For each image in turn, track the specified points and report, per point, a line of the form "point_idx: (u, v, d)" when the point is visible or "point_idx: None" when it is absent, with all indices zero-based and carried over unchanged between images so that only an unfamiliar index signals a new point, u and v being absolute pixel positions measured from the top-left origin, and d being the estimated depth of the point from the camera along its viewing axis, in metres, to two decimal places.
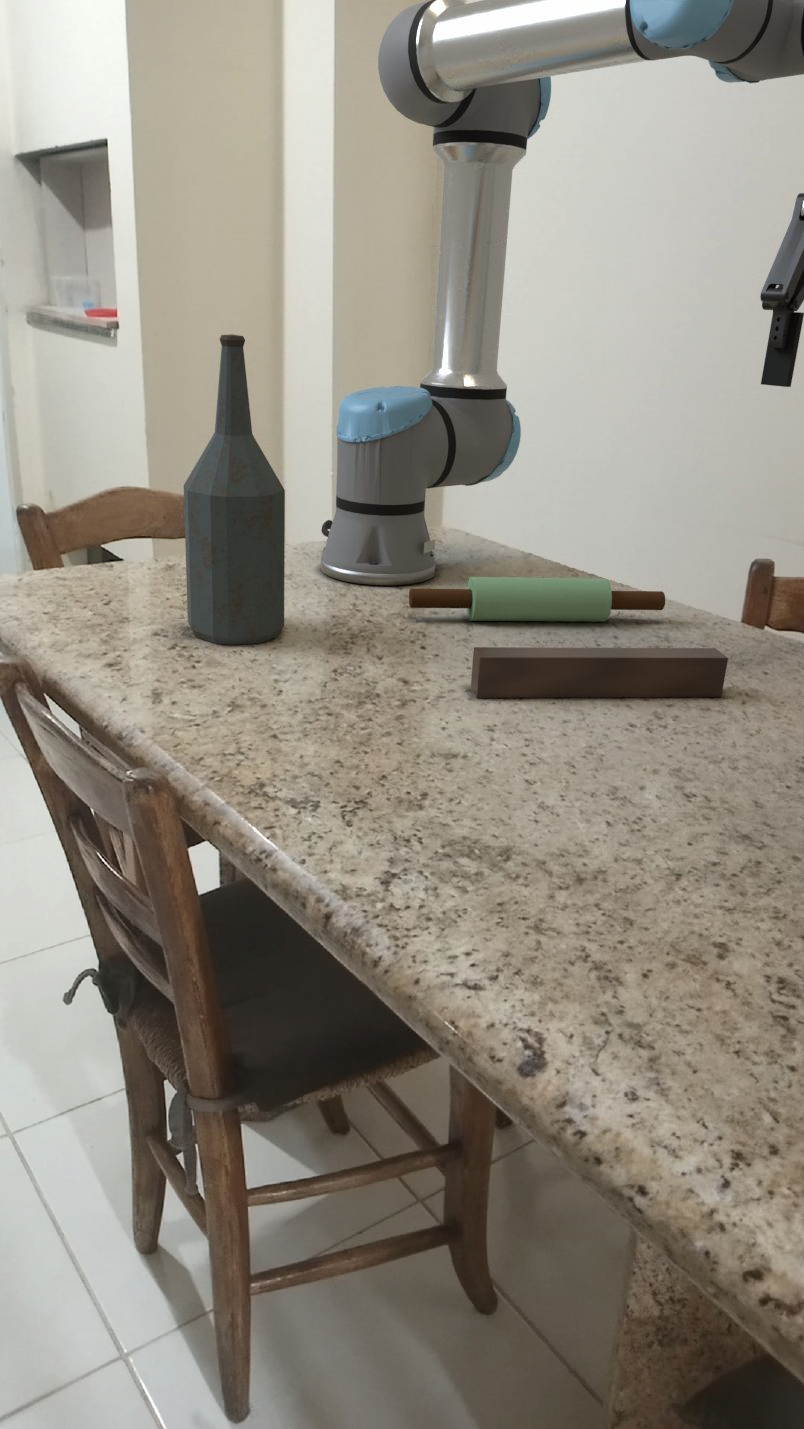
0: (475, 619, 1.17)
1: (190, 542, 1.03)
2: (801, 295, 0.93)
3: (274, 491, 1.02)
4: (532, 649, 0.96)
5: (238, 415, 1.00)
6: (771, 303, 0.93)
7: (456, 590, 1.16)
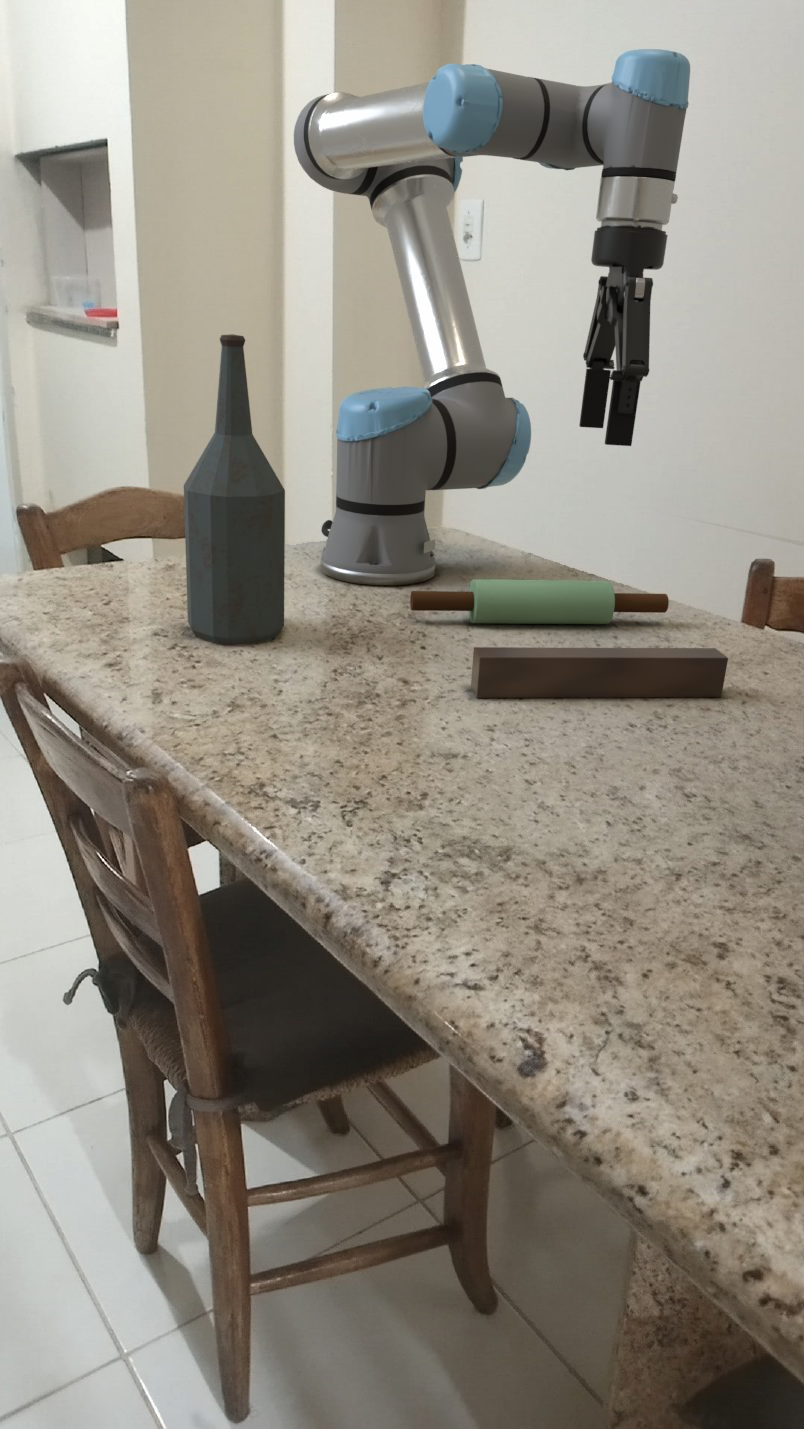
0: None
1: (190, 542, 1.03)
2: None
3: (274, 491, 1.02)
4: (532, 649, 0.96)
5: (238, 415, 1.00)
6: (630, 376, 1.03)
7: (458, 595, 1.15)
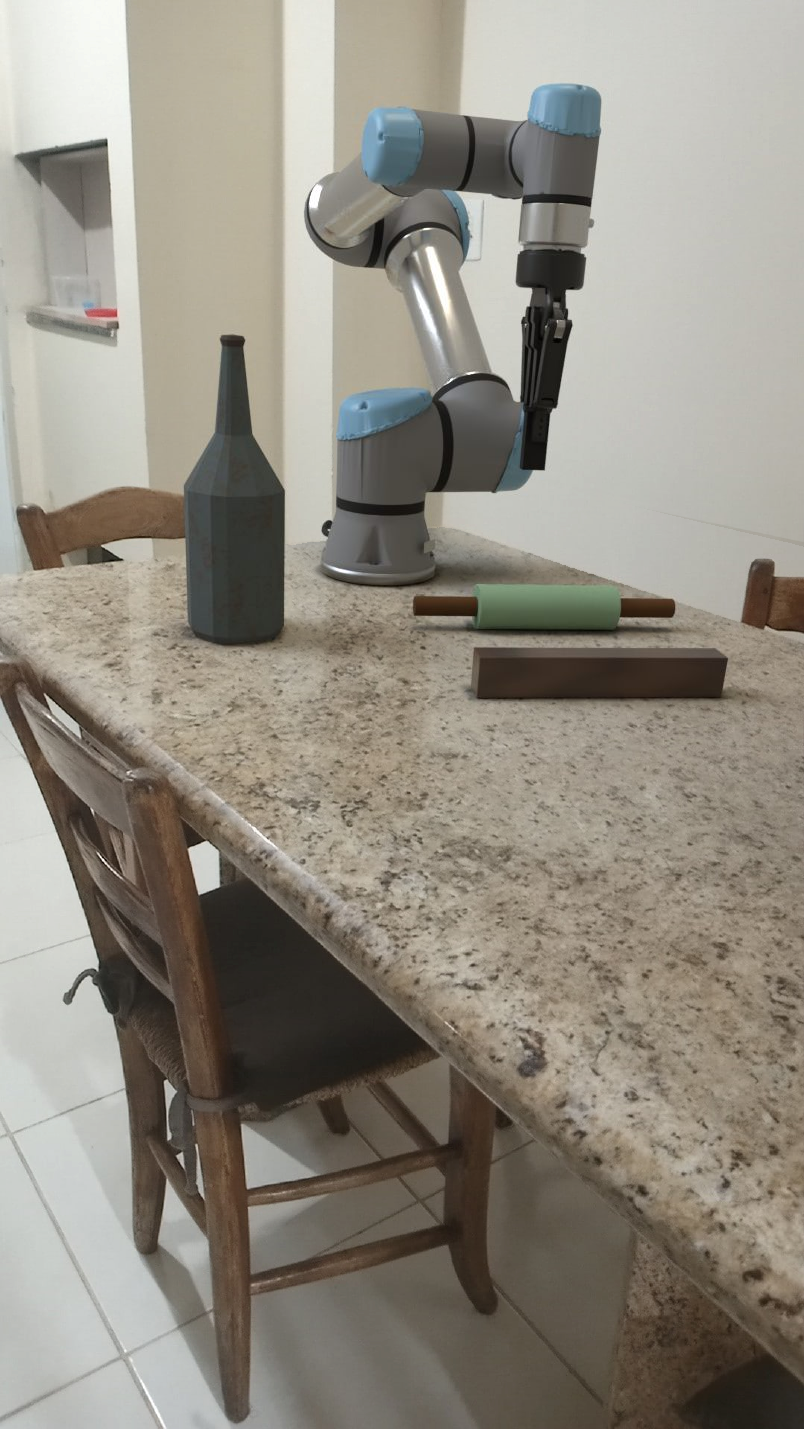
0: None
1: (190, 542, 1.03)
2: None
3: (274, 491, 1.02)
4: (532, 649, 0.96)
5: (238, 415, 1.00)
6: (541, 409, 1.15)
7: (462, 608, 1.13)
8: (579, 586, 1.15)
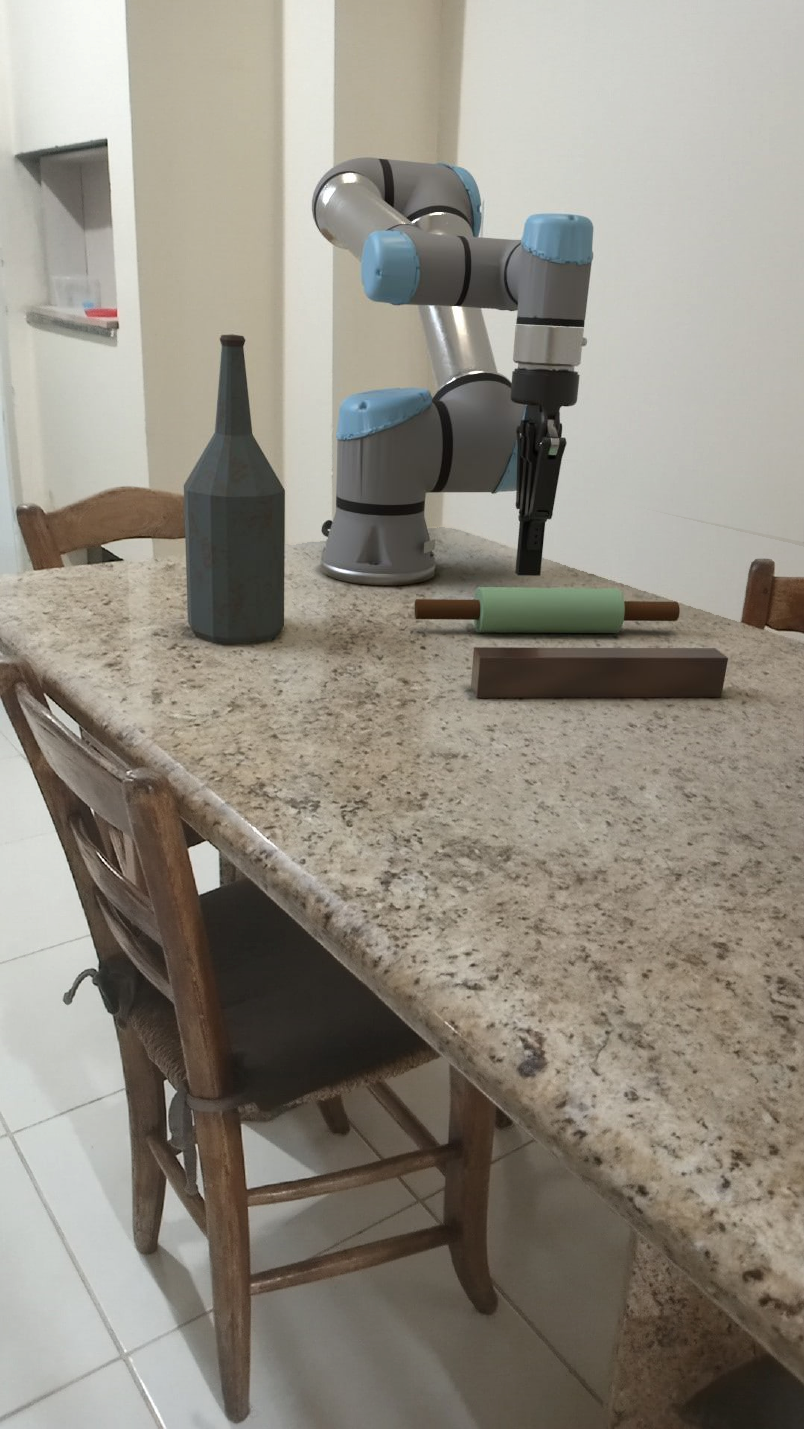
0: None
1: (190, 542, 1.03)
2: None
3: (274, 491, 1.02)
4: (532, 649, 0.96)
5: (238, 415, 1.00)
6: (536, 519, 1.18)
7: (463, 616, 1.12)
8: (585, 595, 1.13)
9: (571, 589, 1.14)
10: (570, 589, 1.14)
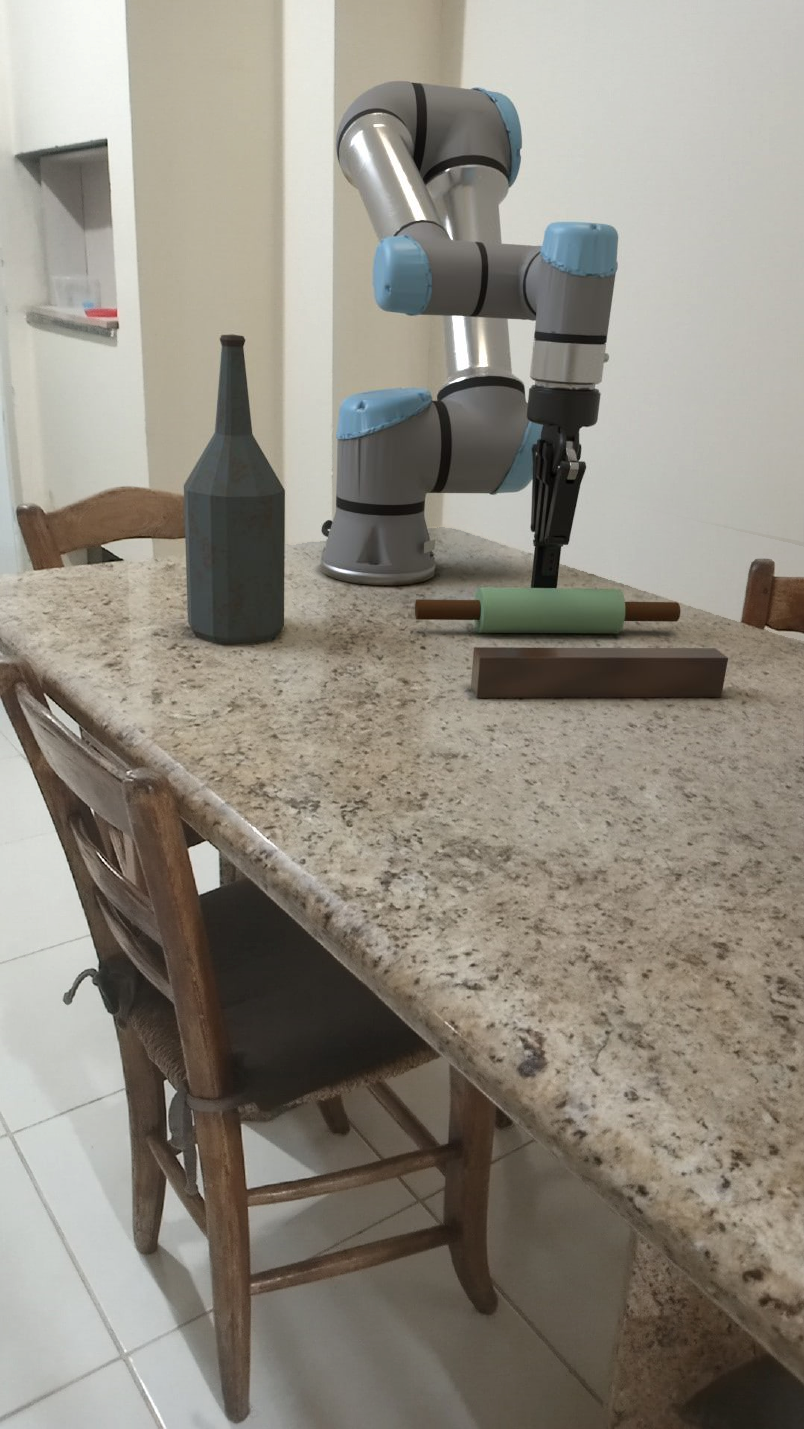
0: None
1: (190, 542, 1.03)
2: None
3: (274, 491, 1.02)
4: (532, 649, 0.96)
5: (238, 415, 1.00)
6: (552, 545, 1.12)
7: (464, 616, 1.12)
8: (585, 594, 1.13)
9: (571, 589, 1.14)
10: (570, 589, 1.14)
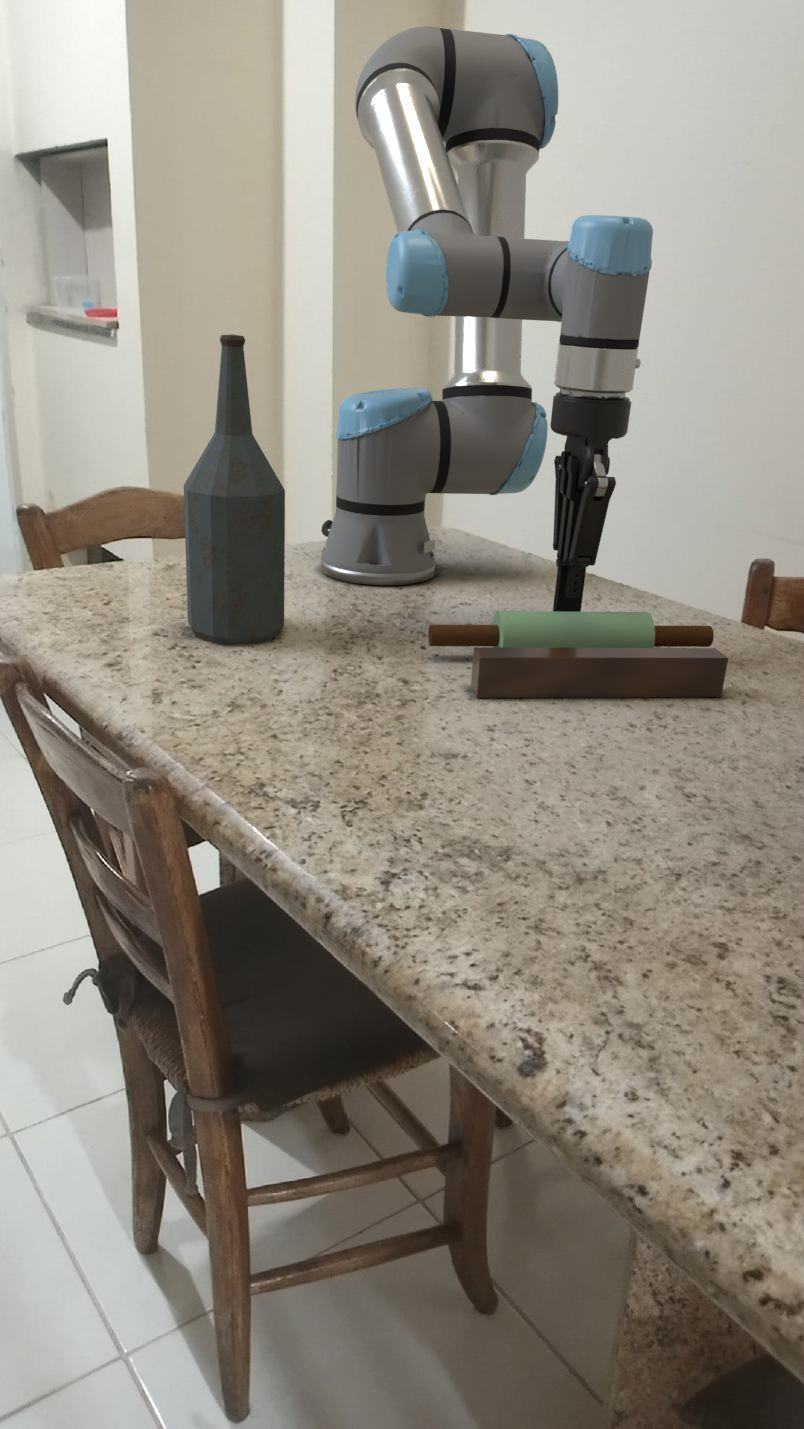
0: (501, 611, 1.05)
1: (190, 542, 1.03)
2: None
3: (274, 491, 1.02)
4: (532, 649, 0.96)
5: (238, 415, 1.00)
6: (577, 565, 1.03)
7: None
8: None
9: (601, 647, 1.04)
10: (599, 647, 1.04)
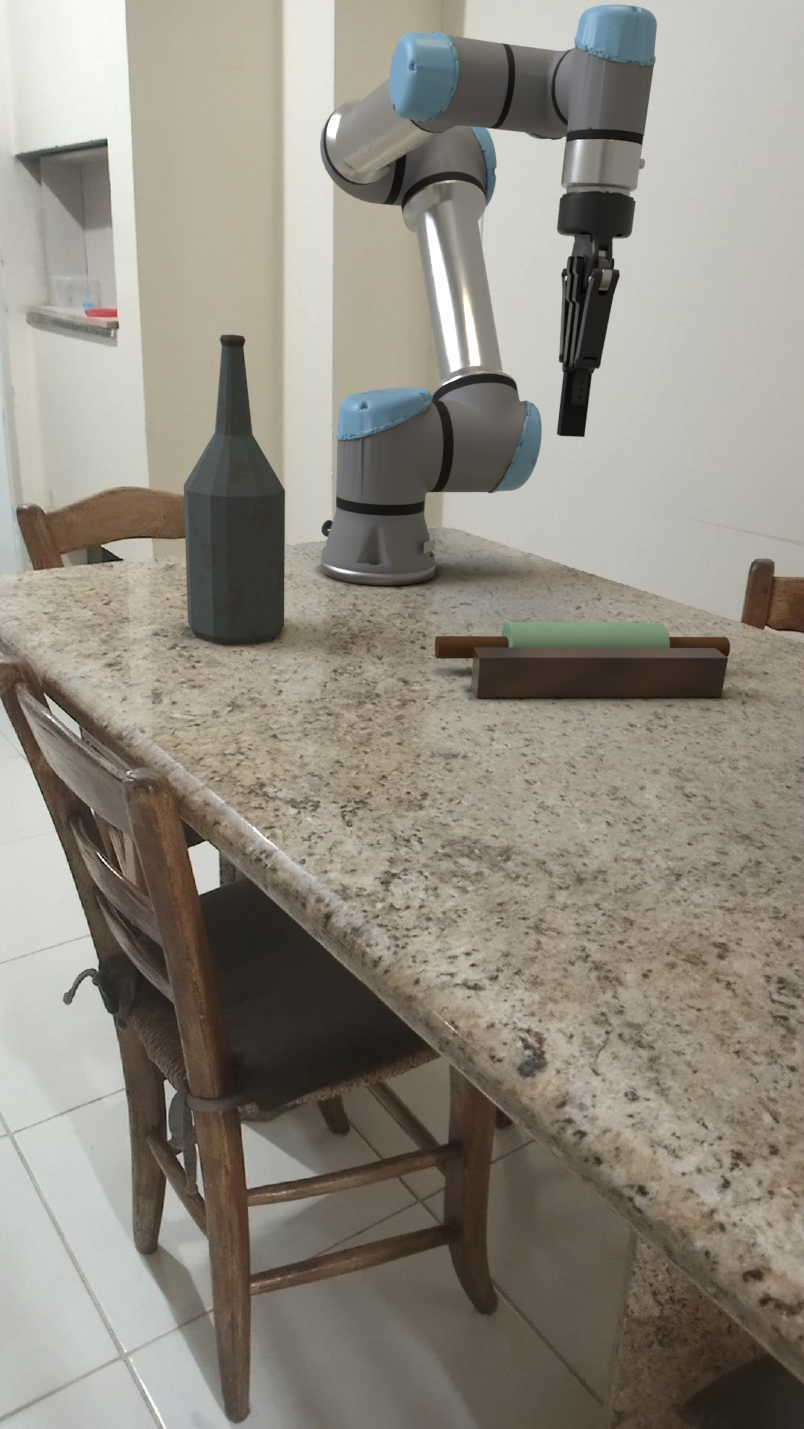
0: (516, 636, 0.99)
1: (190, 542, 1.03)
2: None
3: (274, 491, 1.02)
4: (532, 649, 0.96)
5: (238, 415, 1.00)
6: (582, 368, 1.06)
7: None
8: None
9: None
10: None
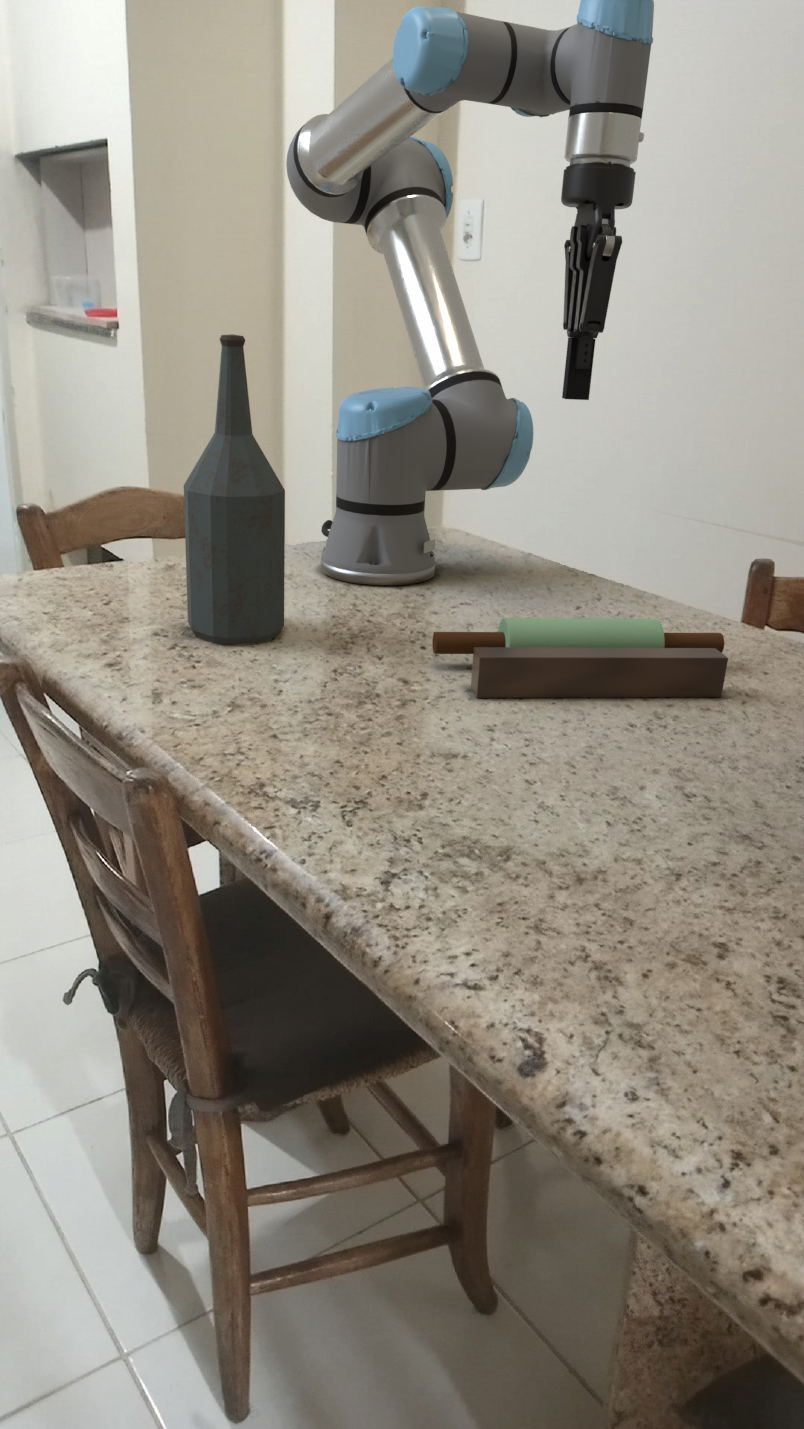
0: (510, 621, 1.01)
1: (190, 542, 1.03)
2: None
3: (274, 491, 1.02)
4: (532, 649, 0.96)
5: (238, 415, 1.00)
6: (586, 333, 1.11)
7: None
8: None
9: None
10: None
